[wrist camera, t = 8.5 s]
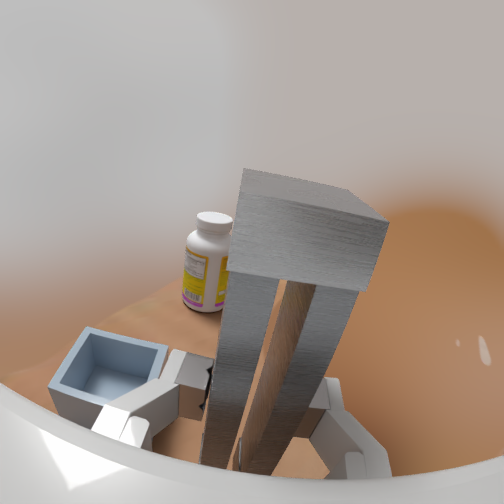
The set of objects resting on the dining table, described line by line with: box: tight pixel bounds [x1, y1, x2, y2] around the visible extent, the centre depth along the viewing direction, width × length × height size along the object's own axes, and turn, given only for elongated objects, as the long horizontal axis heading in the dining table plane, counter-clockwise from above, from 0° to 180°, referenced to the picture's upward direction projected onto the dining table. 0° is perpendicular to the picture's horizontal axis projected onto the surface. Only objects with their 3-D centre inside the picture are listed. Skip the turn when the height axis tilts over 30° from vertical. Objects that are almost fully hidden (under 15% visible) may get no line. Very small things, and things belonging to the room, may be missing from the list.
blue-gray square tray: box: [48, 326, 169, 441], centre depth 24 cm, size 9×9×5 cm
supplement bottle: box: [182, 212, 233, 312], centre depth 42 cm, size 7×7×13 cm
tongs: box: [199, 168, 389, 476], centre depth 10 cm, size 3×3×14 cm
